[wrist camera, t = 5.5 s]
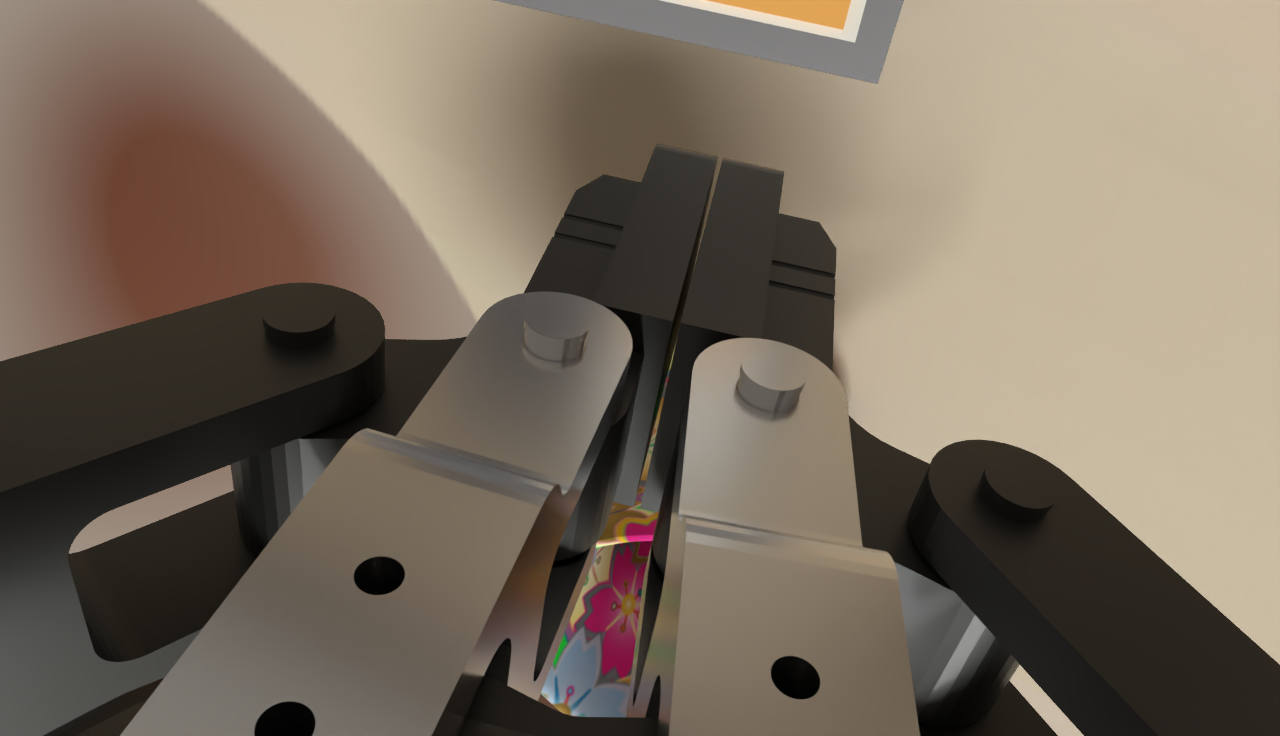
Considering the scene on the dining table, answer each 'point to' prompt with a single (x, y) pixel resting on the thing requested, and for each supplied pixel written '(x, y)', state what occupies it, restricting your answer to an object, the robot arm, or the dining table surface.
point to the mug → (606, 615)
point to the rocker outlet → (793, 14)
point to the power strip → (745, 32)
